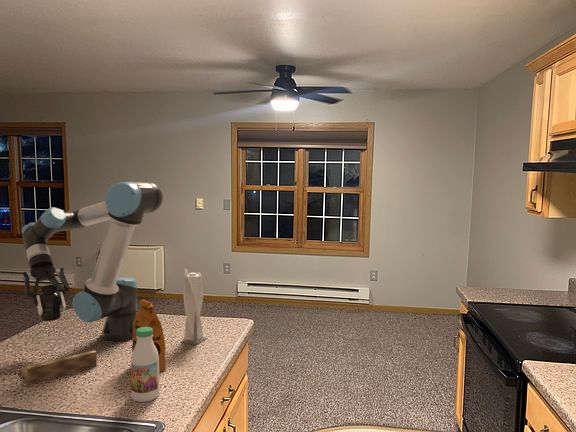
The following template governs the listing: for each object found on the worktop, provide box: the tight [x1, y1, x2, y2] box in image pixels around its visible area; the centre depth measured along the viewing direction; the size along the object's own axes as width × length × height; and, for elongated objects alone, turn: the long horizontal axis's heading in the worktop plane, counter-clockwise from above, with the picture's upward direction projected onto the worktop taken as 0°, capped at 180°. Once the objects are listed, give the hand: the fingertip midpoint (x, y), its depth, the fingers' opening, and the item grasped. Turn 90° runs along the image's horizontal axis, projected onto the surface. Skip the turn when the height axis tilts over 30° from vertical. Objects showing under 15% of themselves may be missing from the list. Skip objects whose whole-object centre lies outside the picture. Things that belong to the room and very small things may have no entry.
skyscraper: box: [180, 268, 207, 346], centre depth 172 cm, size 8×8×28 cm
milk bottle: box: [130, 327, 160, 403], centre depth 127 cm, size 8×8×20 cm
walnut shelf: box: [19, 350, 98, 385], centre depth 145 cm, size 20×12×5 cm, turn 131°
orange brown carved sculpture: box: [131, 299, 167, 373], centre depth 147 cm, size 10×12×22 cm
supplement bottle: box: [39, 284, 62, 322], centre depth 158 cm, size 7×7×12 cm
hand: (52, 310), depth 156 cm, fingers closed on supplement bottle, 7 cm apart
